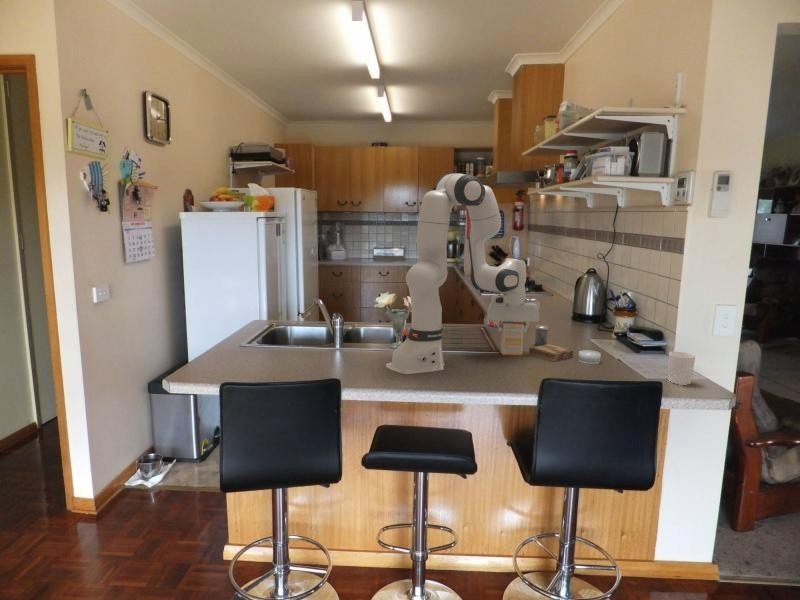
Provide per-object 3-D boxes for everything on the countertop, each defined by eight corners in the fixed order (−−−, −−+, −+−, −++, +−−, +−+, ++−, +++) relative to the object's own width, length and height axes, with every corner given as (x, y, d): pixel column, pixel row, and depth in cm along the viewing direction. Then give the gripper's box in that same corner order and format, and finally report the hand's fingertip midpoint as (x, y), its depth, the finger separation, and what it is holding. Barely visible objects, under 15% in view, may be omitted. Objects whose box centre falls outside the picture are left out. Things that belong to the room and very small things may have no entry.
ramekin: (592, 365, 198) (592, 356, 198) (574, 360, 205) (574, 352, 204) (604, 362, 203) (605, 353, 203) (586, 357, 210) (586, 349, 209)
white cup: (670, 385, 176) (673, 356, 175) (663, 378, 184) (665, 350, 182) (695, 387, 175) (699, 358, 173) (687, 379, 183) (690, 352, 181)
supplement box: (519, 352, 215) (521, 321, 212) (522, 356, 210) (524, 324, 208) (499, 352, 215) (501, 321, 212) (502, 355, 210) (503, 324, 208)
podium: (553, 362, 202) (553, 354, 201) (528, 355, 211) (529, 347, 211) (572, 357, 209) (573, 349, 208) (547, 351, 218) (548, 343, 218)
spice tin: (541, 348, 222) (542, 328, 221) (531, 345, 227) (532, 325, 225) (549, 346, 226) (551, 326, 224) (539, 344, 230) (540, 324, 228)
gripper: (538, 297, 211) (537, 331, 213) (487, 296, 213) (486, 329, 215) (541, 300, 205) (539, 334, 207) (488, 298, 206) (487, 333, 209)
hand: (512, 332), depth 211 cm, fingers closed on supplement box, 8 cm apart
